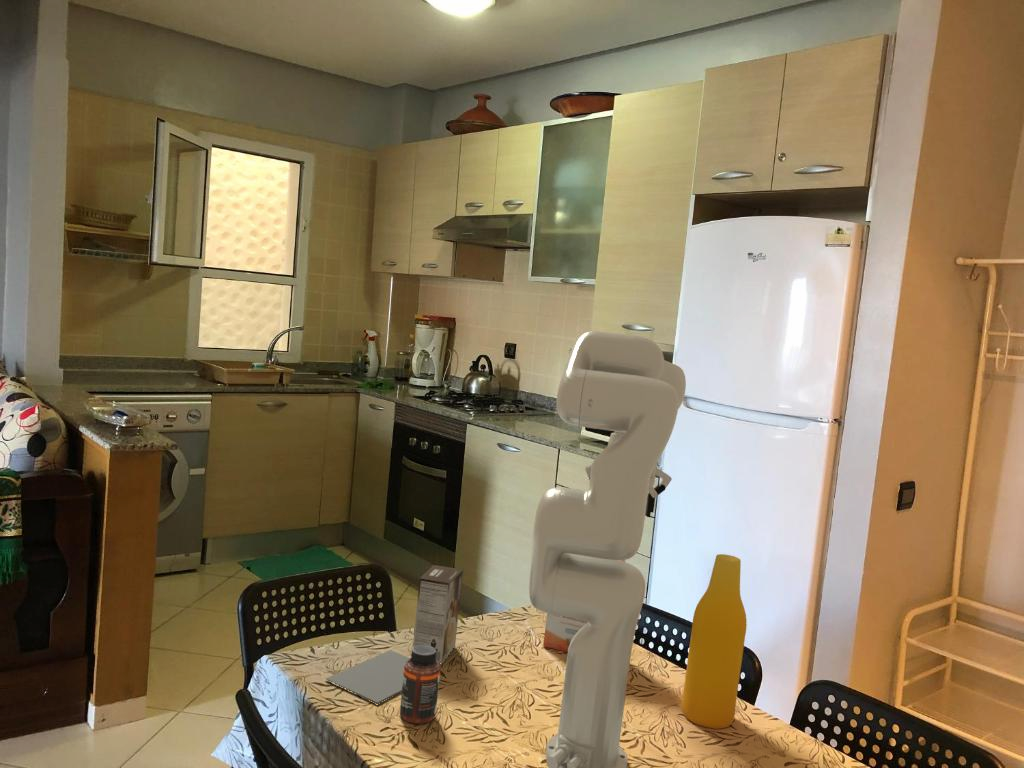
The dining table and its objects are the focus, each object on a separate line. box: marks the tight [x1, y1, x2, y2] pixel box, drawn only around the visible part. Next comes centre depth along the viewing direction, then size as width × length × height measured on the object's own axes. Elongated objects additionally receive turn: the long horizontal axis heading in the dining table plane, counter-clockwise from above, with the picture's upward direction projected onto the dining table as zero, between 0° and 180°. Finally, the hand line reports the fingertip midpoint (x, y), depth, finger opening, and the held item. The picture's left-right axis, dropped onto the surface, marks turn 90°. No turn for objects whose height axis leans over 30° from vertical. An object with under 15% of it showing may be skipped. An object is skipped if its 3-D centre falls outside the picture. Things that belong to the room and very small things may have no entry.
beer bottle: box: [680, 553, 747, 730], centre depth 139 cm, size 9×9×29 cm
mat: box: [325, 649, 411, 705], centre depth 142 cm, size 17×12×1 cm
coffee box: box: [412, 564, 464, 664], centre depth 153 cm, size 9×6×16 cm
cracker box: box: [542, 560, 626, 653], centre depth 162 cm, size 14×6×21 cm, turn 73°
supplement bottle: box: [399, 645, 441, 725], centre depth 129 cm, size 6×6×11 cm
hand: (623, 512), depth 159 cm, fingers open, 9 cm apart
